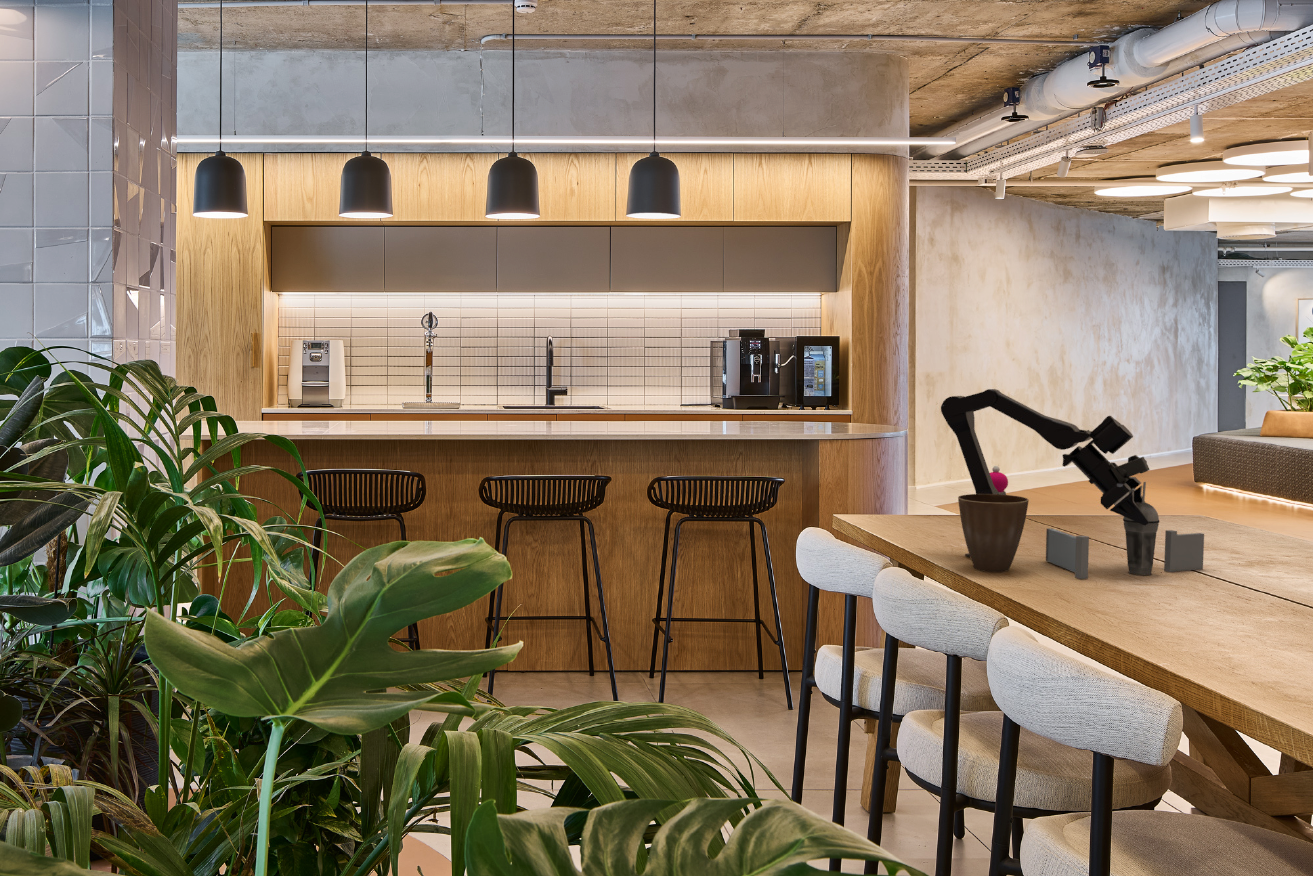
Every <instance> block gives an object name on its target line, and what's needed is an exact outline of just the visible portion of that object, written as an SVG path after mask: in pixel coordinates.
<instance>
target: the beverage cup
mask: <svg viewBox="0 0 1313 876" xmlns="http://www.w3.org/2000/svg"><path fill="white" fill-rule="evenodd" d="M1146 485H1147V481H1143V485H1142V494H1141V495H1142V502H1137V503H1136V505H1137V506H1138V507H1139V509H1140V510H1141V512H1142V513H1143V514H1144V516H1145V517H1146V519H1147V520H1148V522H1149V523H1148V524H1147V525H1145V526H1144V525H1142V524H1140V523H1138V522H1135V521H1133V520H1131V519H1129V518H1127V517H1124V516H1123V519H1122V521H1123V527H1124V530H1125V531H1124V532H1125V545H1126V558H1127V566H1128V574H1130V575H1136V576H1150V575H1152V572H1153V566H1154V559H1155V557H1154V556H1155V549H1156V539H1157V532H1158V529H1159V523H1160V518H1159V513H1158V511H1157V509H1156V508H1155V507H1154V506H1153V505H1151V504H1149V503H1147V502H1146ZM1144 501H1145V502H1146V503H1144Z"/></svg>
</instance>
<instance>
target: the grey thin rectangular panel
mask: <svg viewBox="0 0 1313 876" xmlns="http://www.w3.org/2000/svg"><path fill="white" fill-rule="evenodd" d="M1045 533H1046V534H1045V535H1046V538H1045V539H1046V540H1045V541H1046V542H1045V543H1046V544H1045V562H1049V563H1051V564H1053V565H1056V566H1059V567H1060V568H1063V569H1065V570H1067V571H1071V572H1073V573H1075V557H1076V536H1077V535H1076V536H1075V535H1072V534H1069V533H1066V532H1064V531H1060V530H1058V529H1054V528H1050V527H1049V528H1046V532H1045Z"/></svg>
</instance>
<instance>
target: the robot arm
mask: <svg viewBox="0 0 1313 876" xmlns="http://www.w3.org/2000/svg"><path fill="white" fill-rule="evenodd" d="M986 408H992V409H994V410H995V411H997V412H999V413H1002V414H1004V415H1005V416H1007V417H1009V418H1011V419H1013V420H1015V421H1017V422H1018V423H1020V424H1022V425H1024V426H1026V427H1027V428H1029V429H1032V430H1033V431H1035V432H1036V433H1037V434H1038V435H1039V436H1040V437H1041V438H1042V439H1043V440H1045V441H1046V442H1047V443H1049V444H1050V445H1051V446H1052V447H1054V448H1056V449H1058V450H1060V451H1061V450H1063V451H1065V450H1068V449H1071V448H1074V447H1075V446H1076V447H1075V448H1074V449H1073V450H1072V451H1071V452H1070V453H1063V454H1062V467H1068V466H1070V464H1071V463H1072V464H1073V465H1074V466H1076V467H1077V469H1079V470H1080V471H1081V473H1082V474H1083V475H1084V476H1085V477H1086V478H1087V479H1088V482H1089V483H1090V484H1091V485H1094V486H1095V487H1096V488H1097V489H1099V491H1100V492H1101V494H1102V495H1101V497H1100V504H1101V506H1102V507H1103V508H1104V509H1106V510H1108V509H1109V511H1110V512H1113V513H1115V514H1118V515H1120V516H1122V517H1123V518H1124V517H1127V518H1129V519H1131V520H1133V521H1135V522H1138V523H1140V524H1142V525H1144V526H1145V525H1147V524H1148V523H1149V522H1148V520H1147V519H1146V517H1145V516H1144V514H1143V513H1142V512H1141V510H1140V509H1139V507H1138V506H1137V505H1136V503H1137V502H1142V495H1143V485H1141V484H1142V482H1141V481H1140V479H1138V478H1137V477H1135V475H1138V474H1143V473H1146V472H1148V471H1150V470H1151V469H1150V468H1149V465H1148V463H1147V459H1145V456H1141V457H1139V456H1138V455H1137V454H1134V455H1132V456H1129V457H1128V458H1127V462H1125V463H1123V464H1120V465H1118V464H1117V463H1116V462H1112V461H1109V459H1107V458H1106V457H1105V455H1106V454H1108V453H1110V454H1111V455H1114V454H1115V453H1116V452H1118V451H1119V450H1120V449H1121V448H1122V447H1123V446H1124V445H1126V444H1127V443H1128V442H1129V441H1131V439H1133V438H1134V435H1133V433H1132V432H1131V431H1130V430H1129V429H1128V428H1127V427H1126V426H1125V425H1124V424H1122V423H1120V422H1119V421H1118V420H1117V419H1115V418H1114V417H1113V416H1112V415H1107V416H1106V417H1105V418H1104V419H1103V420H1102V422H1101V423H1099V424H1098V426H1096V427H1095V428H1094V429H1093V430H1090V429H1088V430H1087V429H1086V430H1085V429H1080V428H1079V427H1078V426H1077V425H1075V424H1073V423H1070V422H1068V421H1064V420H1062V419H1058V418H1054V417H1050V416H1049V415H1048V416H1047V415H1045V414H1042V413H1041V412H1039V411H1037V410H1034V409H1033V408H1031V407H1029V406H1028V405H1026V404H1024V403H1021V402H1019V401H1018V400H1016V399H1014V398H1012V397H1010V396H1008V395H1007V394H1004V393H1002V392H1001V391H1000V390H999V389H996V388H992V389H991V388H989V389H988V388H987V389H985V390H984V391H981V392H977V393H975V394H970V395H968V396H967V395H966V396H964V395H955V396H954V395H953V396H949V397H947V398H945V399H944V400H943V402H942V403H941V406H940V410H941V411H940V413H941V415H942V416H943V418H944V420H945V422H946V424H947V425H948V427H949V428H950V429H951V430H952V432H953V433H954V434H955V436H956V438H957V441H958V444H959V447H960V450H961V452H962V456H963V458H964V462H965V465H966V467H967V470H968V474H969V475H970V478H971V481H972V484H973V488H974V491H975V494H1000V495H1007V492H1006V490H1004V492H1001V493H999V492H998V491H997V489H996V488H995V486H994V484H993V482H992V479H991V476H990V473H991V472H990V470H989V468H988V464H987V462H986V459H985V456H984V454H983V450H982V448H981V445H980V443H979V439H978V436H977V432H976V429H975V426H976V425H975V413H974V412H977V411H981V410H983V409H986ZM1091 439H1092V440H1091ZM1087 441H1089V442H1088V443H1087V444H1086V445H1085V446H1083V447H1082V446H1080V445H1078V444H1079V443H1084V442H1087ZM1077 445H1078V446H1077ZM1095 446H1096V447H1095ZM1101 452H1102V453H1103V454H1105V455H1103V454H1102V453H1101ZM1144 503H1147V502H1146V500H1145V501H1144ZM1113 505H1114V506H1113ZM964 557H968V558H970V555H969V552H968V553H964Z"/></svg>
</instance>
